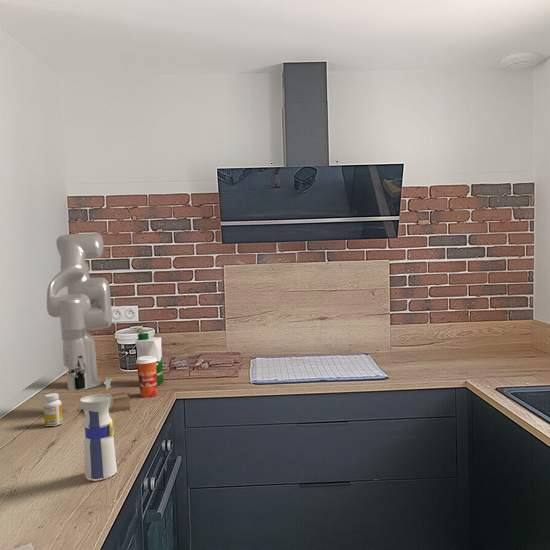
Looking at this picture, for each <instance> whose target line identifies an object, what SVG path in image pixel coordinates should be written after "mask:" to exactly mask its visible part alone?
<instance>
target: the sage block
mask: <svg viewBox="0 0 550 550" xmlns="http://www.w3.org/2000/svg"><path fill="white" fill-rule="evenodd" d="M77 373H78V372H77ZM84 374H85V373H84ZM75 378H76V377H75V373H71V374H69V373H67V374H66V381H67V389H68V390H69V391H70V392H72V393H73V392H78V391H82V390H88V389H87V376H86V374H85V388H83V389H78V390H76V389H75Z"/></svg>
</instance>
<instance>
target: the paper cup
mask: <svg viewBox="0 0 550 550" xmlns="http://www.w3.org/2000/svg"><path fill="white" fill-rule="evenodd" d="M156 361H158V360H157V358H155V356H143V357H139V358H138V357H137V358H136V361H135V363H136V367H137V376H138V386H139V391H140V393H139V394H140V397H142V398H143V397H149V398H153V397H152V396H154V397H156V396H157V393H158V391H157V376H156ZM155 395H156V396H155Z"/></svg>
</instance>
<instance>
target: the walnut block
mask: <svg viewBox="0 0 550 550" xmlns="http://www.w3.org/2000/svg"><path fill="white" fill-rule="evenodd" d="M102 394H109V395H111V396H112V398H113V405H112V408H111V407H109V413H113V414H115V413H114V412H118V413H120V412H119V411H123V412H127V411H126V410H128V411H130V410H131V405H130V403H131V402H130V396H129V395H128V394H126V393H125V392H124V391H123V390H115V391H110V392H103V393H102Z"/></svg>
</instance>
